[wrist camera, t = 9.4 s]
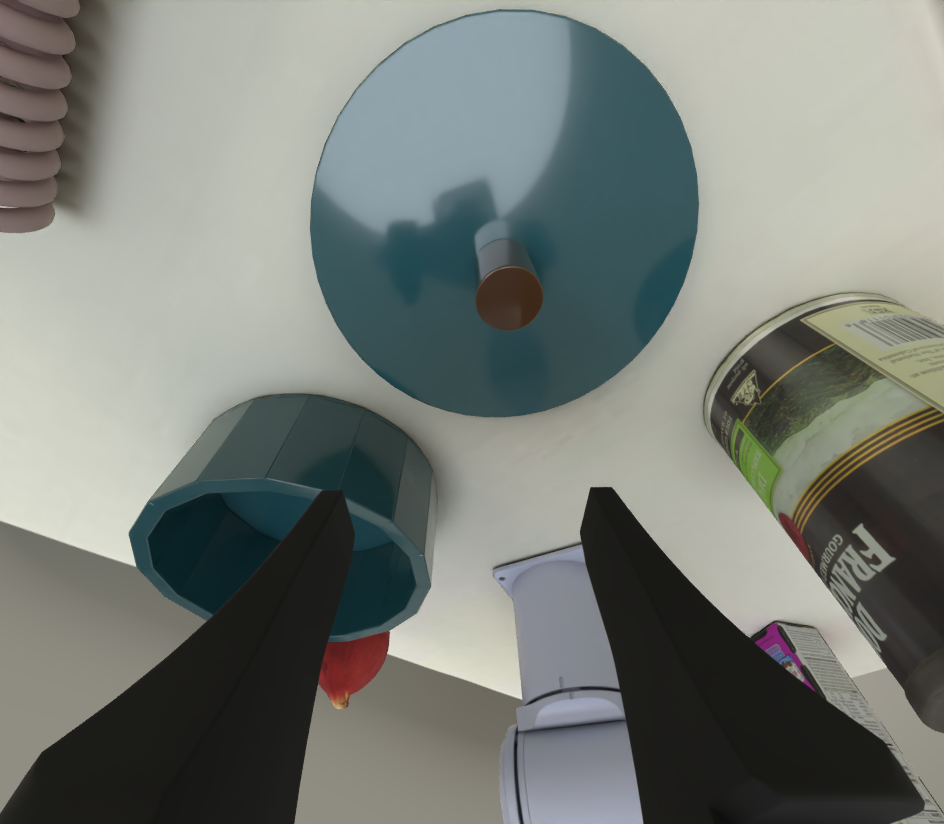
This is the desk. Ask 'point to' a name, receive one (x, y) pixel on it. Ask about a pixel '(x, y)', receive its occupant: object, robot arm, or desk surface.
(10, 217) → the coil
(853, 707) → the candy bar box
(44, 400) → the desk surface
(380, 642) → the onion
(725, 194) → the desk surface
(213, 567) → the pot
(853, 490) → the coffee can
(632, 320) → the pot lid
